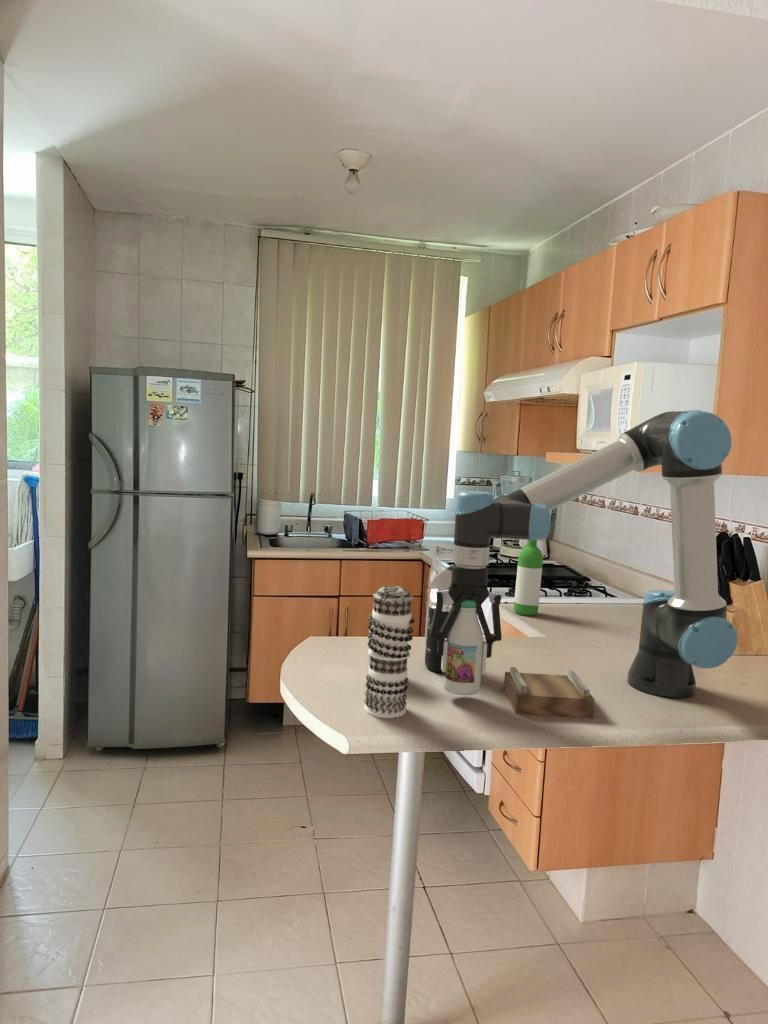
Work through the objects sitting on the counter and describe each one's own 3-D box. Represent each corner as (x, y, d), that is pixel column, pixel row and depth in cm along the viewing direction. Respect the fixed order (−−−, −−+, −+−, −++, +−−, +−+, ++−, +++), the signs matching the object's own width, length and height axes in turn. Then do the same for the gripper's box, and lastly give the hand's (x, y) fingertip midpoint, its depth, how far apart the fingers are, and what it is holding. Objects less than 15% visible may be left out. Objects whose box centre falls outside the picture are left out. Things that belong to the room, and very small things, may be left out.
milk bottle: (456, 680, 161) (462, 592, 158) (486, 690, 156) (493, 598, 154) (436, 689, 155) (442, 597, 153) (466, 699, 150) (473, 604, 148)
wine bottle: (509, 610, 238) (517, 519, 234) (531, 610, 240) (540, 519, 236) (519, 616, 230) (527, 522, 227) (541, 616, 232) (550, 523, 229)
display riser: (573, 693, 164) (576, 669, 164) (592, 717, 150) (595, 692, 150) (503, 689, 164) (505, 665, 163) (515, 713, 150) (518, 687, 149)
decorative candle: (379, 697, 154) (387, 581, 151) (416, 709, 148) (425, 589, 146) (353, 709, 146) (361, 587, 143) (391, 722, 141) (400, 596, 138)
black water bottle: (428, 675, 170) (436, 569, 167) (419, 660, 180) (427, 561, 177) (471, 675, 171) (480, 571, 168) (459, 661, 181) (468, 562, 178)
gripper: (422, 566, 148) (415, 674, 151) (522, 571, 149) (514, 679, 151) (420, 559, 156) (413, 662, 158) (515, 564, 156) (507, 667, 159)
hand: (462, 670), depth 155 cm, fingers closed on milk bottle, 8 cm apart
